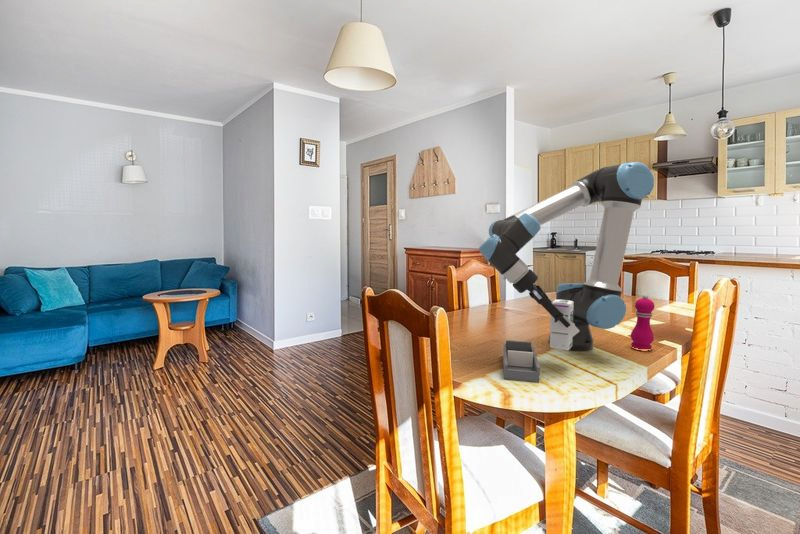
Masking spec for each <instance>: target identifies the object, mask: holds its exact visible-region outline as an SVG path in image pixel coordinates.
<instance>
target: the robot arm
mask: <svg viewBox="0 0 800 534" xmlns="http://www.w3.org/2000/svg"><path fill="white" fill-rule="evenodd" d="M654 185H655V178H654V175H653V172H652V171H651V170H650V168H649V166H647V165H646V164H644V163H642V162H639V161H632V162H630V161H629V162H623V163H619V164H616V165H615V164H614V165H609V166H603V167H601V168H599V169H596V170H594V171H592V172H590V173H588V174H587V175H585V176H583V177H581V178H580V179H578V180H574V181H573V182H572V183H571V186H569V187H567V188H565V189H562V191H560V192H558V193H555V194H553V195H551V196H549V197H547V198H545V199H543V200H540V201H539V202H537V203H535V204H531V206H529V207H526V208H524V209H522V210H520V211H518V212H516V213H514V214H512V215H510V216H508V217H506V218H503V219H498V220H495V221H493V222H492V223H491V224H490V226H489V228H488V234H489V237H488V238H487V239H486V240H485V241H484V242H483V243H482V244H481V245H480V246H479V249H478V251H479V253H480V254H481V255H482V257H483V258H484V259H485V260H486V261H487V262H489V264H491V266H492V267H493V268H494V269H496V270H497V272H499V273H500V275H501V276H502V280H503V281H507V282H509V284H512V287H513V288H514V289H515V290H516V291H517V292H518V293H519V294H523V293H525V292H526V291H528V292H529V293H528V294H529V295H528V296H530V297H531V298H532V299H534V301H536V303H537V304H539V305H540V306H542V308H544V310H546V311H547V313H549V315H550V316H551V315H552V316H553V317H554V318H555V321H554V322H555V323H556V322H557V321H558V322H559V323H560V324H561V325H562V326H563V328H564V329H565V330H566V331H567V332H568V333H569V334H570V335H571V336H572V337H573V342H572V347H571V348H570V349H569V351H570V350H571V351H589V350H592V349H593V348H594V338H593V334H592V331H591V329H590V328H591V327H594V328H599V329H603V330H608V329H609V330H610V329H612V328H615V327H616V326H617V325H619V324H620V323H621V322H622V321H623V320H624V318H625V315H626V313H627V305H626V303H625V300H624V299H623V298H622V297H621V296H622V293H623V290H622V288H621V287H620V285H619V282H620V276H621V272H622V268H623V263H624V258H625V254H626V249H627V244H628V240H629V235H630V230H631V225H632V221H633V217H634V213H635V212H636V211H637V210H638V209H640V208H641V206H642V201H643V199H645V198H647V197H648V196H649V195H650V194H651V193H652V191H653V189H654V187H655V186H654ZM594 203H595V204H596V203H600V204H601V206H602V207H603V208H604V211H603V215H602V220H601V224H600V229H599V233H598V239H597V244H596V247H595V252H594V258H593V262H592V266H591V270H590V276H589V279H588V280H586V281H585V282H584V283H583V282H569V283H568V282H564V283H563V282H562V283H559V284H558V285H557V286H556V293H555V294H556V298H555V299H556V300H570V301H573V302H574V305H573V323H572V322H571V321H570V320H569V319H568V318H567V317H566V316H565V315H563V313H561V312H560V311H559V310H558V309H557V308H556V307H555V306H554V305H553V304H552V302H553V301H552V300H551V299H550V298H549V297H548V295H547V294H546V292H545V291H544V290H543V288H542V287H541V286H540V285H539V284H537V285H536V284H534V283H536V282H537V281H538V277H539V276H538V275H537V274H536V273H535V272H534V270H532V269H531V268H529V266H528V264H526V263H525V262H524V261H523V260H522V259H521V258H520V257H519V256H518V255H517V253H518V252H519V251H521V250H522V249H523V248H524V247H525V246H526V245H527V244H528V243H529V242H530V241H531V240H533V238H535V237H536V235H537V234H538V233H539V232H540V231H541V226H542V225H544V224H546V223H548V222H551V221H552V220H555V219H556V218H558V217H560V216H562V215H565V214H566V213H569V212H570V211H573V210H575V209H578V207H588V206H589V205H592V204H594ZM556 315H557V316H556ZM590 326H591V327H590ZM548 338H549V339H548V344H550V335H549V336H548Z"/></svg>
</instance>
